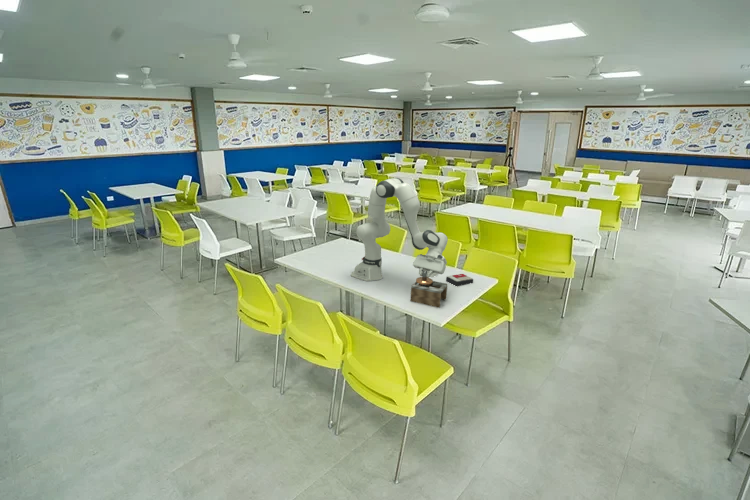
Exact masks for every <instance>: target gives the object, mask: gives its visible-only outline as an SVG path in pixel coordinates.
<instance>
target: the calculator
mask: <svg viewBox="0 0 750 500" xmlns="http://www.w3.org/2000/svg"><path fill="white" fill-rule="evenodd" d="M445 282H447V283H448V282H449V283H448V284H450V283H451V284H450V285H452V284H453V286H454V285H455V286H454V287H456V286H457V287H460V286H464V285H471V284H473V283H474V278H473V277H471V276H468V275H467V274H464V273H459V274H452V275H447V276H446V279H445ZM470 283H471V284H470Z"/></svg>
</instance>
